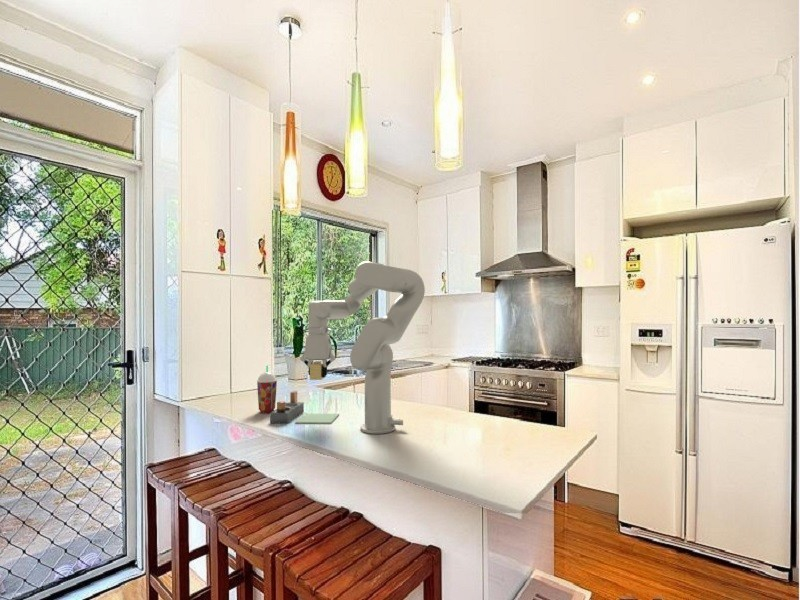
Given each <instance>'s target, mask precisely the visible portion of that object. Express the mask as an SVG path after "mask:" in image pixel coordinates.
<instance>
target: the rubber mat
mask: <svg viewBox="0 0 800 600" xmlns="http://www.w3.org/2000/svg"><path fill="white" fill-rule="evenodd" d="M339 416H340V413H305V414H304V415H303V416H301V417H300V418H299V419H297V420H296V421H295V424H297V425H302V424H303V425H304V424H305V425H312V424H314V425H332V424H333V423H334V422H335V420H336V419H337V418H338V417H339Z"/></svg>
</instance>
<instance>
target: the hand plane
mask: <svg viewBox="0 0 800 600" xmlns="http://www.w3.org/2000/svg"><path fill="white" fill-rule="evenodd" d="M289 396H290V399H289V400H290V402H288V401H287V402H286V401H277V402H276V408H275V409H274V411H273V412H271V413H269V424H280V425H281V424H283V425H284V424H289V423H290V422H292V421H293V420H294V419H296V418H297V417H298V416H300V415H301V414H303V413H304V412H305V411H304V407H305V406H304V405H305V403H304V402H302V401H298V390H292V391H291V392H290V395H289Z"/></svg>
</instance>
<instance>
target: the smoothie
mask: <svg viewBox="0 0 800 600" xmlns="http://www.w3.org/2000/svg"><path fill="white" fill-rule="evenodd" d="M265 367H266V368H265V370H266V371H264V372H263V373H261V374H260V375H259V377H258V378H257V380H256V381H257V383H256V387H257V404H258V411H259V413H260V414H270V413H271V412H273V411H274V410H276V403H277V402H276V400H277V385H278V379H277V378H276V375H275V374H274V373H272V372H271V371H269V365H266V366H265Z"/></svg>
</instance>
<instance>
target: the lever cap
mask: <svg viewBox="0 0 800 600" xmlns="http://www.w3.org/2000/svg"><path fill="white" fill-rule="evenodd" d="M322 368H323V362H322V360H315V361H313V364H310V375H309V380H310V381H321V380H323V379H325V378H326V377H322Z"/></svg>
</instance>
